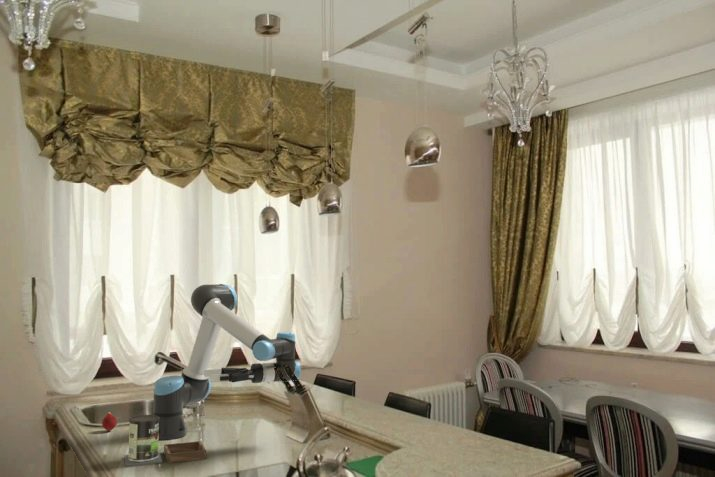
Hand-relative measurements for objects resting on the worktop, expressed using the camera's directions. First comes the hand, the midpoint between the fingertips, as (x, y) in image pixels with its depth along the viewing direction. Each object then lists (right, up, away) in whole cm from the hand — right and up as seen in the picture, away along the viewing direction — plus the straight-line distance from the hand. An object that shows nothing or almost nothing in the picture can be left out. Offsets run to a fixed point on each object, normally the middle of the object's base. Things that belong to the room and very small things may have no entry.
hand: (207, 375), depth 232 cm
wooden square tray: (-6, -27, -9) cm, 29 cm away
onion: (-47, -29, +25) cm, 61 cm away
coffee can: (-19, -26, -14) cm, 36 cm away
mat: (-19, -27, -14) cm, 36 cm away
